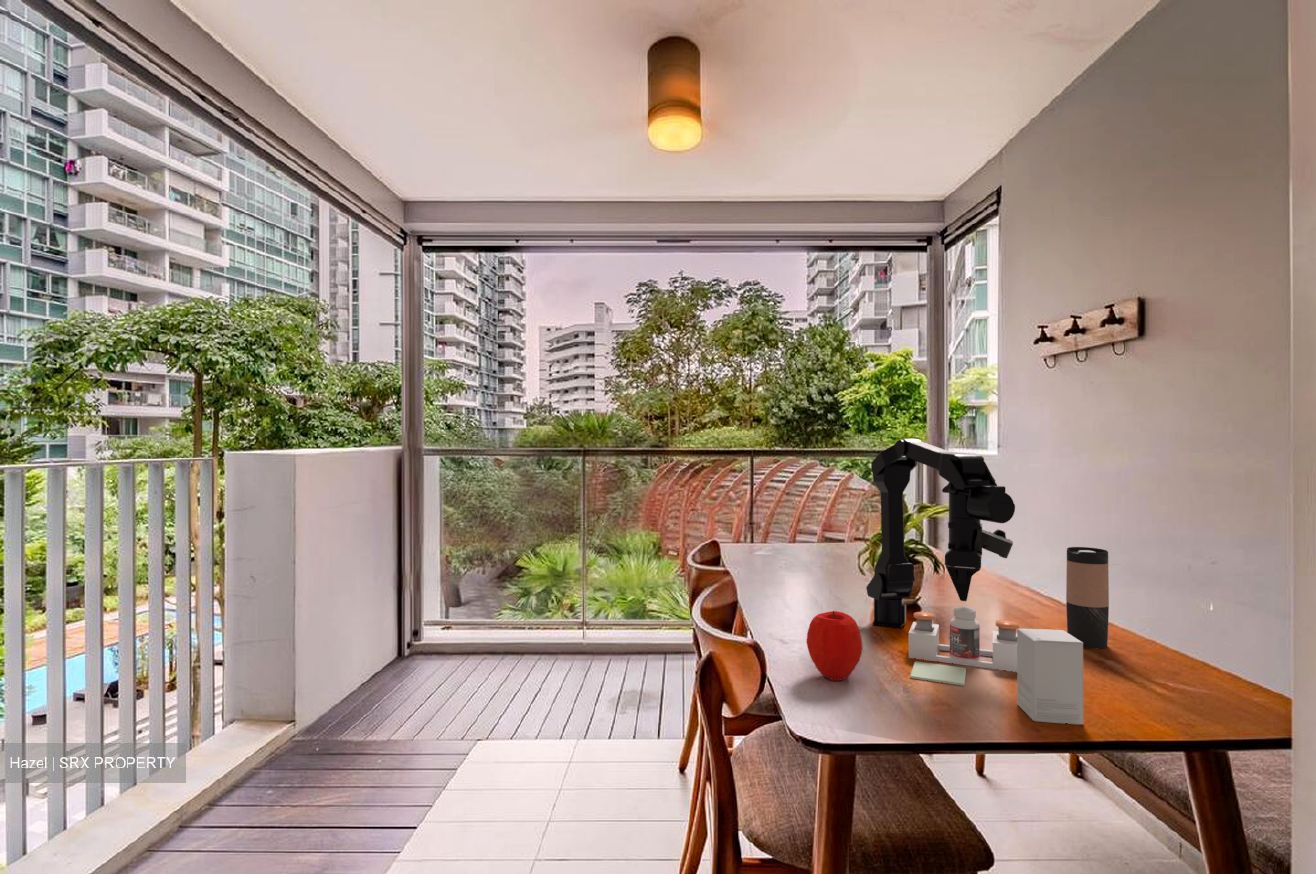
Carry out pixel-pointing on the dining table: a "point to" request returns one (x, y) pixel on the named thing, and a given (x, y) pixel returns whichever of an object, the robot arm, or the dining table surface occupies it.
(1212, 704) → the dining table surface
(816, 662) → the apple
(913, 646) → the holder
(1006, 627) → the plunger right
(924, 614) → the plunger left
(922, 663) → the mat
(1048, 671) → the supplement box
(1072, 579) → the travel mug
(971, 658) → the pill bottle
